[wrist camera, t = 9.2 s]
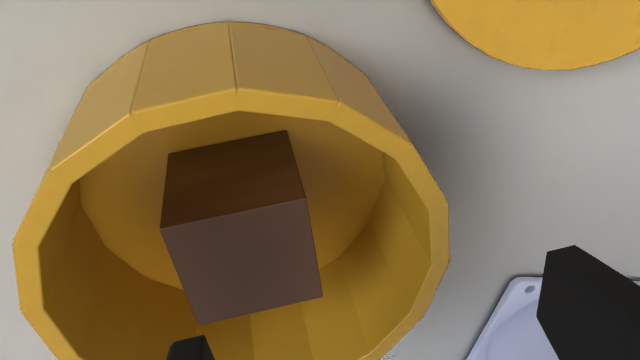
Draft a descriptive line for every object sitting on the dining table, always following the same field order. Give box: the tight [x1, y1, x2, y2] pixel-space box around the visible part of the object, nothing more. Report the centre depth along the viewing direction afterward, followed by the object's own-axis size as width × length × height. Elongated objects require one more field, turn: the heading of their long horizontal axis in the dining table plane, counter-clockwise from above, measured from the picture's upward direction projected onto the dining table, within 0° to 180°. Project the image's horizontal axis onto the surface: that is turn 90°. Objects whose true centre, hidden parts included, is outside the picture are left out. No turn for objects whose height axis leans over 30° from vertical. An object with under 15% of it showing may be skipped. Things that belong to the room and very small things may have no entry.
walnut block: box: [159, 130, 323, 326], centre depth 17 cm, size 4×4×4 cm
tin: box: [12, 22, 449, 360], centre depth 17 cm, size 12×12×5 cm
